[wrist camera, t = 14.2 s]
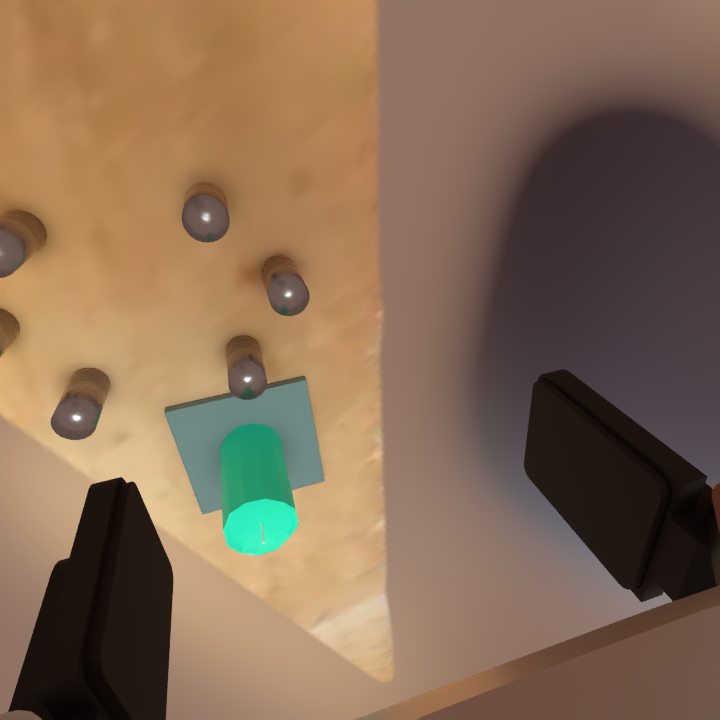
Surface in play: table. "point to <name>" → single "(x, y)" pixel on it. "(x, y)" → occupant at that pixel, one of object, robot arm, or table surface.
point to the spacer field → (90, 386)
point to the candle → (255, 491)
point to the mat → (226, 412)
